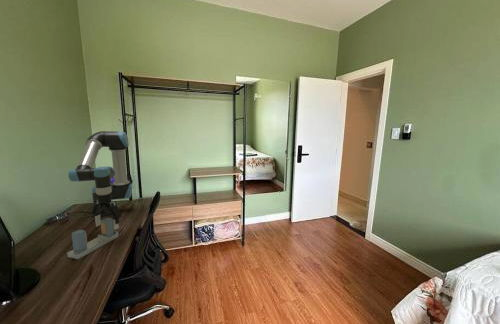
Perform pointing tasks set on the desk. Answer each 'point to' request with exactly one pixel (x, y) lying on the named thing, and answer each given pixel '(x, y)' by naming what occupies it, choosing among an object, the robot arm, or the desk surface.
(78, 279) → the desk surface
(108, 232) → the grey orange block
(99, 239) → the rail
